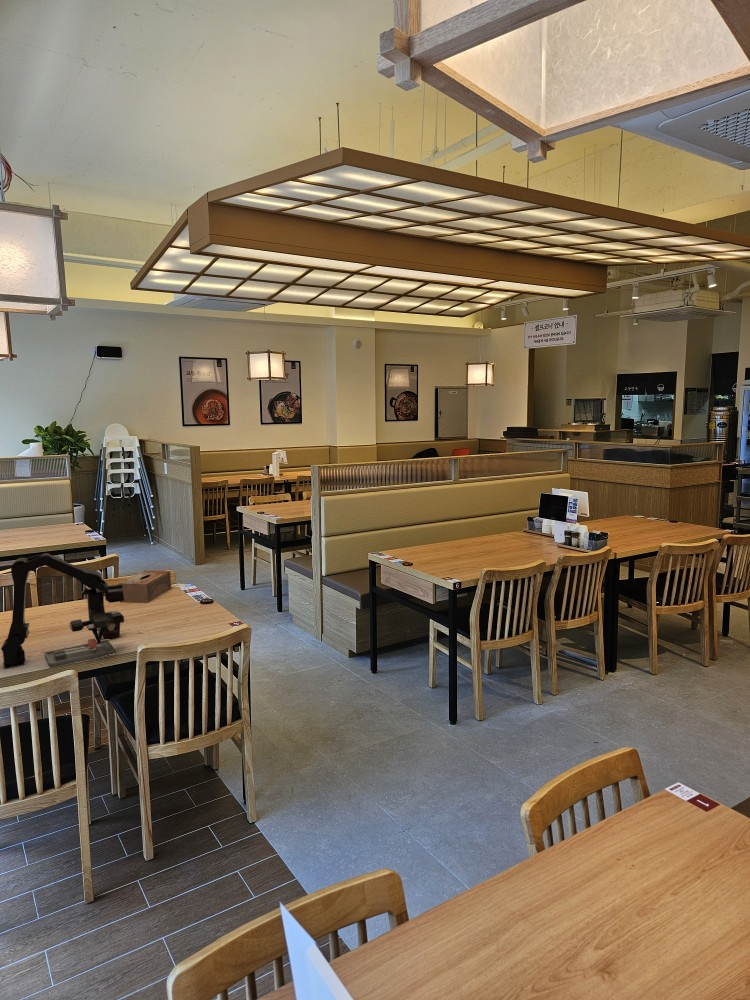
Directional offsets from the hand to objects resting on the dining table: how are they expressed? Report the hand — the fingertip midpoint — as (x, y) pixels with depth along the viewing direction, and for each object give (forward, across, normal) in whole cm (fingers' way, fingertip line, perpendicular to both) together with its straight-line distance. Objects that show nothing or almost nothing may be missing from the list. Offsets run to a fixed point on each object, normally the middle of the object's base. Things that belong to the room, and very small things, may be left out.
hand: (98, 642), depth 243 cm
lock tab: (+1, -2, 0) cm, 3 cm away
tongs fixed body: (+3, -7, 0) cm, 8 cm away
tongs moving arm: (+3, -10, +2) cm, 11 cm away
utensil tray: (+4, -7, +1) cm, 8 cm away
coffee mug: (+4, +6, +16) cm, 18 cm away
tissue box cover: (+4, +36, +70) cm, 79 cm away
